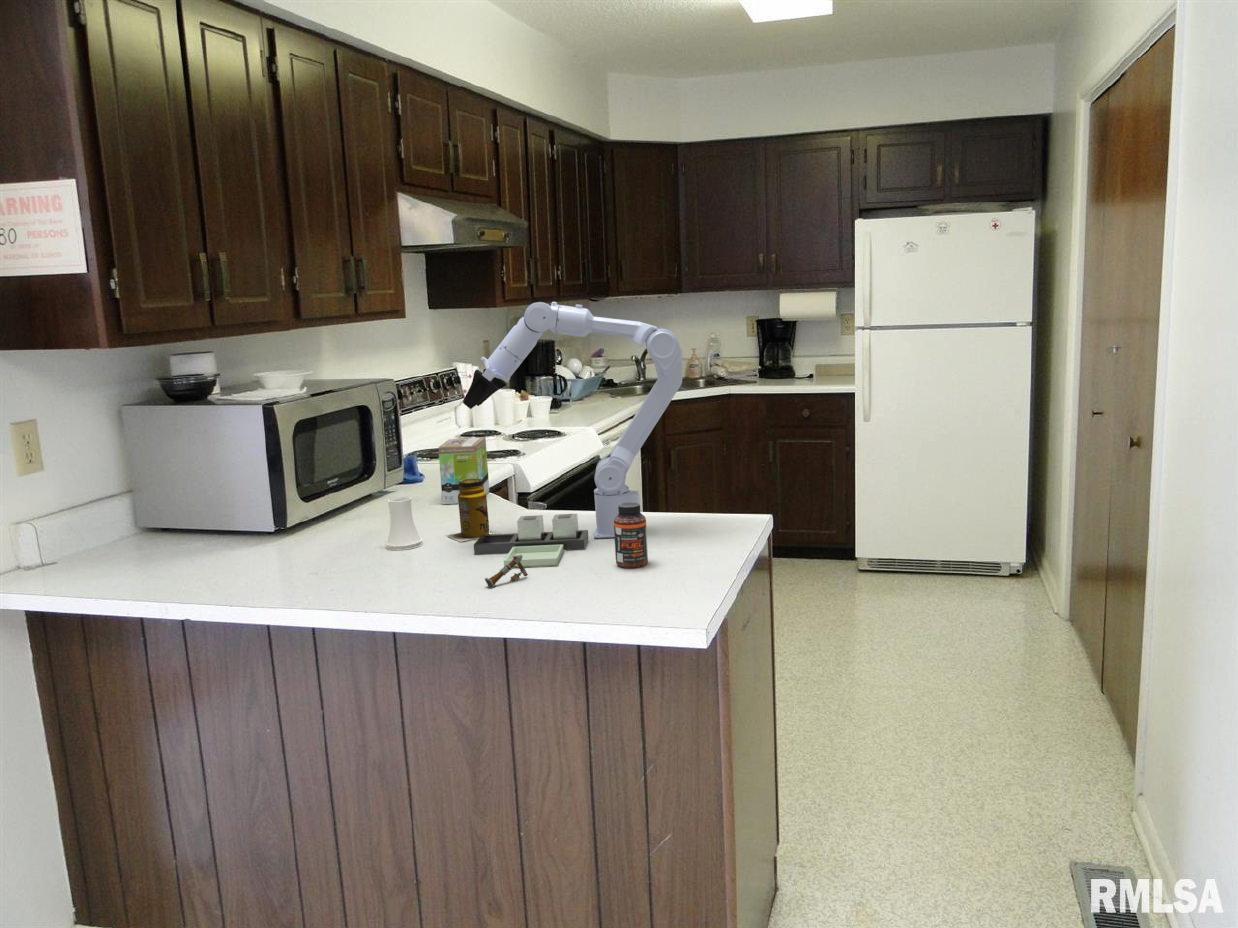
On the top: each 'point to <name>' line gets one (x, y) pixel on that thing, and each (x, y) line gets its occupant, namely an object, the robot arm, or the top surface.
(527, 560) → the parts tray
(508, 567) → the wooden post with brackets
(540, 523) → the grey box
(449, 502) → the tea box
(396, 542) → the vase
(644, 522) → the supplement bottle
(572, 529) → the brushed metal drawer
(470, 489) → the condiment
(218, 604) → the top surface
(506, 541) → the rack frame
